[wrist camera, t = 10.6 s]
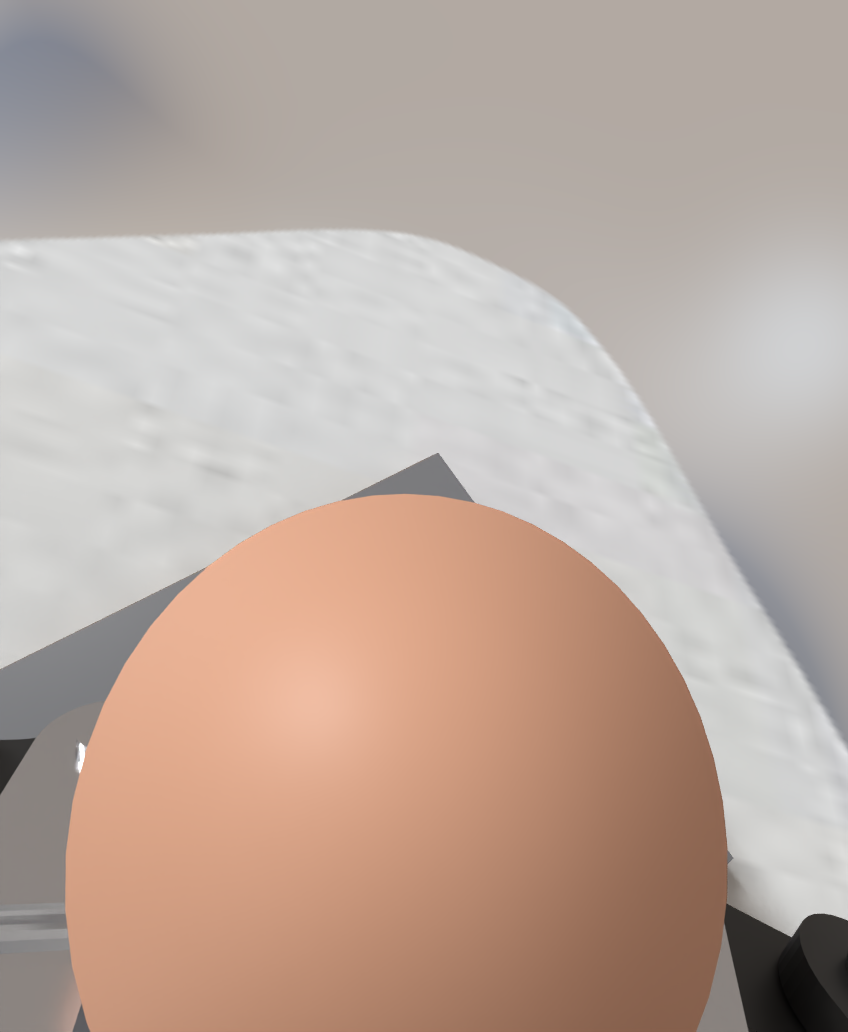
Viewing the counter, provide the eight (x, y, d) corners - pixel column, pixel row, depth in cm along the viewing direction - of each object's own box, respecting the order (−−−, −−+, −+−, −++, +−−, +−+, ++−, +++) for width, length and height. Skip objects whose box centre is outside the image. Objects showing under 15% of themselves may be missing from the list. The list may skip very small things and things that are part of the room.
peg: (253, 751, 13) (-32, 674, 3) (391, 662, 14) (486, 419, 5) (334, 916, 12) (271, 1571, 2) (478, 802, 13) (851, 875, 3)
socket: (73, 703, 16) (-22, 680, 12) (419, 518, 20) (438, 452, 16) (260, 1181, 12) (218, 1387, 8) (635, 836, 16) (733, 858, 12)
